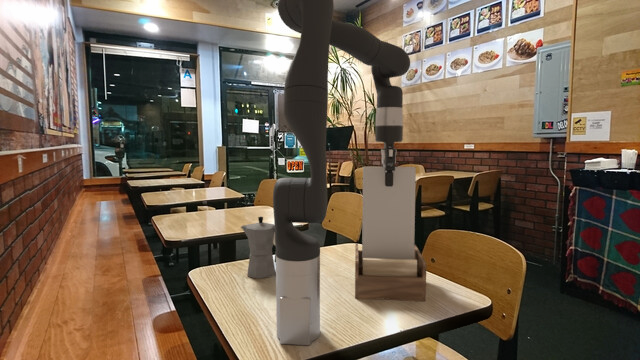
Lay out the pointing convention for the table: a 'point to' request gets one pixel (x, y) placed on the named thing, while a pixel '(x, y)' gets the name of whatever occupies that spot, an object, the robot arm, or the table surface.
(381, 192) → the brochure
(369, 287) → the rack
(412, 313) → the table surface
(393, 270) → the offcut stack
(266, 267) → the coffeepot
